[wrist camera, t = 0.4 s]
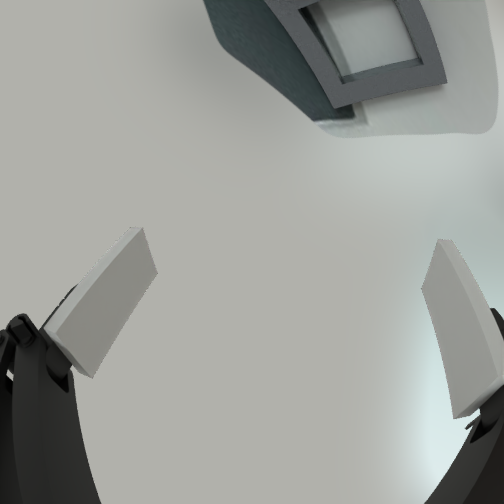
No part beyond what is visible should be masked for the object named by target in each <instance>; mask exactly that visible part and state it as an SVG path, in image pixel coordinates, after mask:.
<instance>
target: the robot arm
mask: <svg viewBox="0 0 504 504" xmlns="http://www.w3.org/2000/svg"><path fill="white" fill-rule="evenodd" d="M157 274H158V273H157V270H156V268H155V264H154V261H153V258H152V256H151V253H150V250H149V246H148V243H147V240H146V237H145V233H144V230H143V228H141V227H140V228H138V227H130V228H129V229H128V230H127V231H126V232H125V233H124V234H123V235H122V236H121V237H120V238H119V239H118V240H117V242H116V243H115V244H114V245H113V246H112V247H111V248H110V249H109V250H108V251H107V252H106V253H105V254H104V255H103V257H102V258H101V259H100V260H99V261H98V262H97V263H96V264H95V265H94V266H93V268H92V269H91V270H90V271H89V272H88V273H87V275H86V276H85V277H84V278H83V279H82V280H81V281H80V283H79V284H77V285H76V286H75V287H73V288H72V289H71V290H70V291H69V292H68V294H67V295H66V296H65V299H63V300H62V301H61V302H60V304H59V306H57V307H56V308H55V310H54V311H53V312H52V314H51V315H50V316H49V317H48V319H47V320H46V321H45V323H44V324H43V325H42V327H41V328H40V329H39V330H38V329H37V328H36V327H35V325H34V324H33V323H32V321H31V320H30V319H29V317H28V316H27V314H19V315H17V316H15V317H14V318H13V319H12V320H11V321H10V322H9V324H8V325H7V327H6V330H4V329H3V330H1V331H0V504H101V502H100V499H99V496H98V493H97V490H96V487H95V484H94V481H93V477H92V474H91V471H90V467H89V463H88V459H87V455H86V451H85V447H84V442H83V438H82V433H81V428H80V422H79V417H78V410H77V403H76V396H75V388H74V379H73V373H72V371H71V370H70V368H71V366H72V365H73V366H74V367H75V368H76V369H77V370H78V372H79V373H81V374H83V375H86V376H88V377H90V378H93V377H94V375H95V373H96V371H97V370H98V368H99V366H100V364H101V363H102V361H103V359H104V357H105V356H106V354H107V352H108V351H109V349H110V347H111V345H112V344H113V342H114V341H115V339H116V337H117V336H118V334H119V332H120V331H121V329H122V328H123V326H124V324H125V323H126V321H127V320H128V318H129V316H130V315H131V313H132V312H133V310H134V309H135V307H136V305H137V304H138V302H139V301H140V299H141V298H142V296H143V295H144V293H145V292H146V290H147V289H148V287H149V286H150V284H151V282H152V281H153V280H154V278H155V277H156V275H157ZM421 289H422V292H423V295H424V298H425V301H426V304H427V307H428V310H429V313H430V316H431V319H432V323H433V326H434V329H435V333H436V337H437V340H438V344H439V348H440V352H441V355H442V360H443V364H444V368H445V373H446V378H447V383H448V388H449V393H450V399H451V405H452V412H453V419H457V418H462V417H466V416H470V415H471V414H473V413H474V412H475V411H476V410H477V409H478V408H479V409H480V415H479V416H478V417H477V418H475V419H474V420H473V421H472V422H470V424H468V425H467V426H466V428H465V429H466V430H467V429H469V428H470V427H471V426H473V427H472V429H471V431H470V433H469V435H468V437H467V439H466V441H465V442H464V444H463V446H462V448H461V450H460V451H459V453H458V455H457V456H456V458H455V460H454V461H453V463H452V465H451V467H450V468H449V470H448V471H447V473H446V474H445V476H444V477H443V479H442V480H441V482H440V483H439V485H438V486H437V488H436V489H435V490H434V492H433V493H432V494H431V496H430V497H429V498H428V500H427V501H426V502H425V503H424V504H504V320H503V318H502V317H501V315H500V314H499V313H498V312H497V311H496V309H495V308H489V305H488V303H487V301H486V299H485V297H484V295H483V293H482V291H481V290H480V287H479V285H478V284H477V282H476V280H475V278H474V276H473V274H472V273H471V271H470V269H469V267H468V266H467V264H466V262H465V260H464V259H463V257H462V255H461V254H460V252H459V250H458V249H457V247H456V246H455V244H454V242H453V241H452V240H443V239H438V240H437V244H436V247H435V250H434V254H433V257H432V260H431V263H430V266H429V269H428V272H427V275H426V278H425V281H424V283H423V286H422V288H421ZM7 370H9V371H10V372H11V373H12V374H13V375H14V377H13V381H12V380H11V379H10V378H9V377H8V376H7V375H6V374H7Z"/></svg>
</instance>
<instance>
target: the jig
mask: <svg viewBox="0 0 504 504" xmlns="http://www.w3.org/2000/svg"><path fill="white" fill-rule="evenodd" d="M264 1H265V2H266V4H267V5H268V6H269V7H270V9H271V10H272V11H273V13H274V14H275V15H276V17H277V18H278V19H279V21H280V22H281V24H282V25H283V26H284V28H285V29H286V31H287V32H288V33H289V35H290V36H291V38H292V39H293V41H294V42H295V44H296V45H297V47H298V48H299V50H300V51H301V53H302V54H303V56H304V58H305V59H306V61H307V62H308V64H309V66H310V67H311V69H312V70H313V72H314V74H315V75H316V77H317V79H318V81H319V82H320V84H321V86H322V88H323V89H324V91H325V93H326V95H327V97H328V98H329V100H330V102H331V104H332V106H333V108H334V109H335V108H339V107H342V106H345V105H349V104H353V103H356V102H360V101H364V100H367V99H371V98H375V97H379V96H384V95H388V94H392V93H397V92H401V91H406V90H411V89H416V88H421V87H427V86H433V85H439V84H445V83H447V79H446V75H445V71H444V67H443V64H442V60H441V57H440V54H439V50H438V47H437V44H436V41H435V38H434V36H433V33H432V30H431V28H430V25H429V22H428V20H427V17H426V15H425V13H424V10H423V8H422V6H421V3H420V1H419V0H394V1H395V3H396V5H397V7H398V9H399V11H400V13H401V16H402V18H403V20H404V22H405V24H406V27H407V29H408V32H409V34H410V36H411V39H412V41H413V44H414V47H415V49H416V52H417V55H418V59H412V60H407V61H402V62H398V63H393V64H389V65H385V66H381V67H377V68H373V69H369V70H365V71H361V72H358V73H354V74H351V75H348V76H344V77H341V75H340V73H339V71H338V69H337V68H336V66H335V64H334V62H333V60H332V59H331V57H330V55H329V53H328V52H327V50H326V48H325V46H324V45H323V43H322V41H321V40H320V38H319V37H318V35H317V33H316V32H315V30H314V29H313V27H312V25H311V24H310V22H309V21H308V19H307V18H306V16H305V15H304V13H303V12H302V11H301V9H300V8H303V7H305V6H308V5H310V4H313V3H316V2H318V1H321V0H264Z"/></svg>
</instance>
